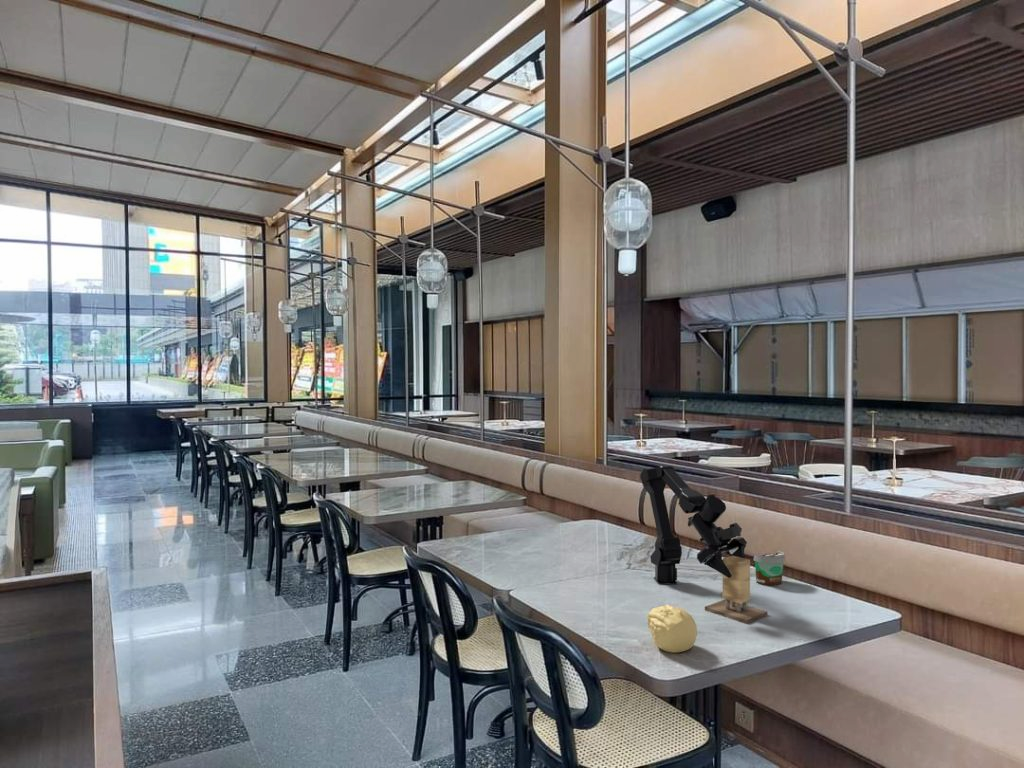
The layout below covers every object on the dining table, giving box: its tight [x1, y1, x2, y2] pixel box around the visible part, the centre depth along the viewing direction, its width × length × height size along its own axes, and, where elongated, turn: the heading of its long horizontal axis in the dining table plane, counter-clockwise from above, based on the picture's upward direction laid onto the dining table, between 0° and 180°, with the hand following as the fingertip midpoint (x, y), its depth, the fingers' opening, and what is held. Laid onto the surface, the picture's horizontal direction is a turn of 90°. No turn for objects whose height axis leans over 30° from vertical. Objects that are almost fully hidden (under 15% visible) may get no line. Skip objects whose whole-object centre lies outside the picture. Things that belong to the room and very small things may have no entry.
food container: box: [753, 550, 786, 587], centre depth 224 cm, size 12×6×10 cm, turn 117°
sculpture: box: [646, 604, 698, 654], centre depth 172 cm, size 12×12×11 cm
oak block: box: [721, 555, 751, 604], centre depth 197 cm, size 6×5×12 cm
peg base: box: [704, 599, 769, 625], centre depth 197 cm, size 14×11×4 cm
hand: (739, 574), depth 196 cm, fingers open, 9 cm apart
